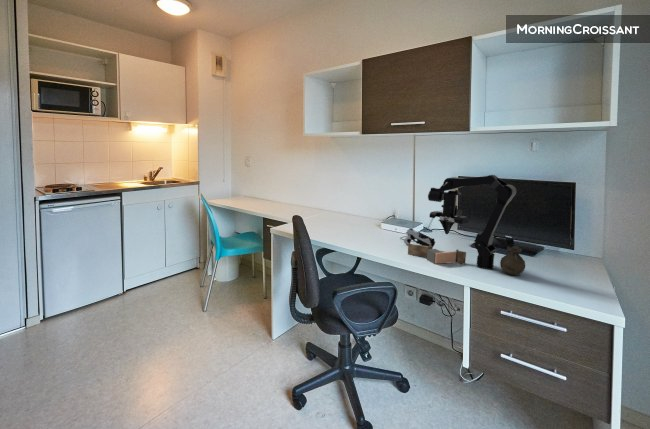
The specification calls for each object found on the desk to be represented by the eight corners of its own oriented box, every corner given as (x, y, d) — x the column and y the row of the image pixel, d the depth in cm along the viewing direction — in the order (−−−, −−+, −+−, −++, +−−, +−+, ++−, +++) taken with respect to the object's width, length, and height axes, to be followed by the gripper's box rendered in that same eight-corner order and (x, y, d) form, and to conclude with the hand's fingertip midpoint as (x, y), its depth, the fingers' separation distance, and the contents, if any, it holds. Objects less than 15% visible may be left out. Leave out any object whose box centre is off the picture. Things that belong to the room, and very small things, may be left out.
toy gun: (428, 256, 188) (435, 240, 185) (402, 242, 197) (407, 227, 194) (430, 255, 190) (436, 239, 186) (403, 242, 199) (409, 226, 195)
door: (454, 261, 167) (454, 251, 166) (455, 261, 166) (456, 251, 165) (434, 263, 164) (435, 253, 163) (435, 263, 163) (436, 253, 162)
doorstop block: (426, 260, 170) (427, 249, 169) (434, 259, 171) (435, 248, 170) (434, 264, 164) (434, 252, 163) (442, 263, 165) (442, 252, 164)
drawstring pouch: (515, 269, 156) (518, 244, 154) (529, 277, 147) (532, 250, 145) (495, 270, 156) (497, 244, 154) (506, 277, 147) (509, 250, 144)
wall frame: (465, 262, 166) (466, 250, 165) (464, 263, 164) (465, 251, 163) (408, 253, 180) (409, 242, 179) (407, 254, 179) (408, 243, 177)
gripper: (476, 204, 165) (473, 236, 168) (443, 199, 180) (441, 228, 183) (462, 206, 159) (459, 239, 162) (429, 201, 174) (427, 231, 177)
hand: (446, 234), depth 171 cm, fingers closed
